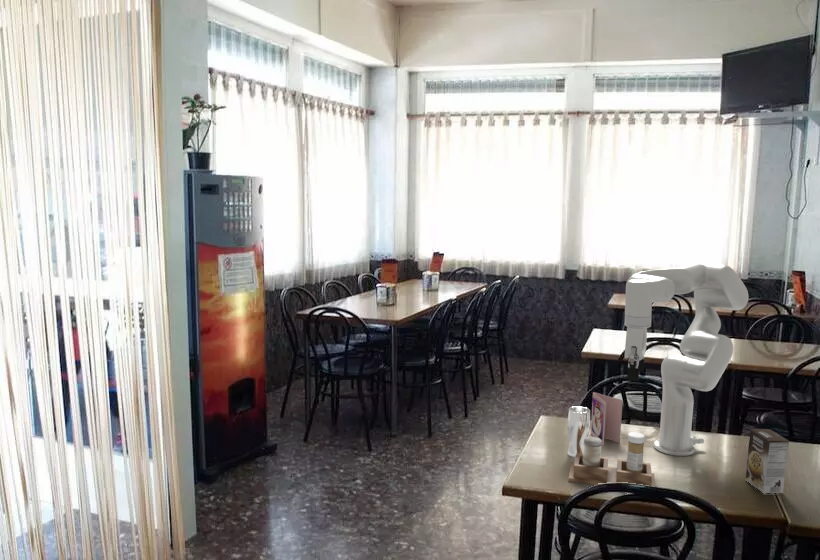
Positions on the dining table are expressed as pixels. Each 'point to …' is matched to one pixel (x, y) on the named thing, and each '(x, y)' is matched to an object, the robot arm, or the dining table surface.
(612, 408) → the greeting card
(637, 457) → the sprinkles bottle
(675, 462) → the dining table surface
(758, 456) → the coffee box
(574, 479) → the condiment rack
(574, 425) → the silver metal can
